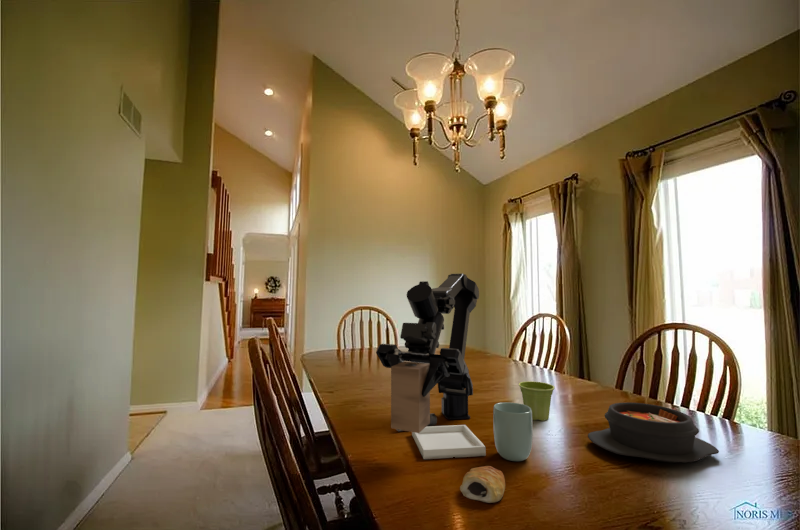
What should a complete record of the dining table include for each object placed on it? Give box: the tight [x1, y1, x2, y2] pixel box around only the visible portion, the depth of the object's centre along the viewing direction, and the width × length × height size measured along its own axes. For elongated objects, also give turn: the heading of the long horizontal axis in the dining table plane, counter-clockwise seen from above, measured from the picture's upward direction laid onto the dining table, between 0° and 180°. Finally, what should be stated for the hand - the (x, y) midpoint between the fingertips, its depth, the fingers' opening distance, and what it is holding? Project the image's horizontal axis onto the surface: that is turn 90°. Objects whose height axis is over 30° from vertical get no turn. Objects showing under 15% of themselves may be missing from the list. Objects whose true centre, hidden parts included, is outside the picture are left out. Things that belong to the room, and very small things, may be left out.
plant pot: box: [518, 380, 555, 422], centre depth 101 cm, size 9×9×9 cm
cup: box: [492, 401, 534, 462], centre depth 76 cm, size 8×8×10 cm
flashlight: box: [395, 412, 438, 433], centre depth 92 cm, size 11×3×3 cm, turn 118°
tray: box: [411, 424, 487, 460], centre depth 82 cm, size 13×13×2 cm
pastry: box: [459, 465, 506, 504], centre depth 63 cm, size 9×7×4 cm
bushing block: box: [390, 361, 431, 433], centre depth 75 cm, size 6×6×12 cm
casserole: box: [587, 402, 720, 463], centre depth 80 cm, size 25×19×8 cm
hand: (408, 393), depth 74 cm, fingers closed on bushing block, 6 cm apart
